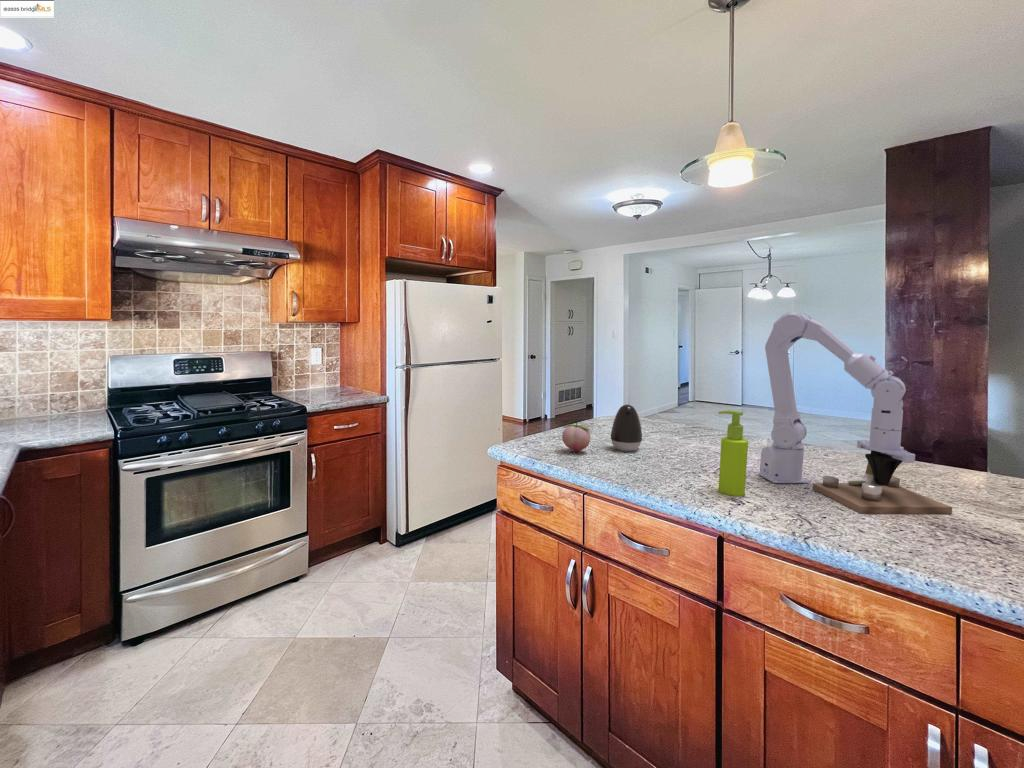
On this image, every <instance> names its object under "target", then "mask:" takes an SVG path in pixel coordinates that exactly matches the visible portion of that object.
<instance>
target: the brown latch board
mask: <svg viewBox="0 0 1024 768" xmlns="http://www.w3.org/2000/svg"><path fill="white" fill-rule="evenodd" d="M862 483H865V480H848V482H847V483H845V482H844V483H843V482H842V483H841V482H840V478H838V477H835V476H831V475H823V477H822V483H819V482H817V483H816V482H813V483H812V490H813V489H814V490H813V491H816V492H818V493H819V492H820V494H821V495H824V496H826V497H828V498H829V499H831V500H833V501H835V502H837V503H839V504H841V505H843V506H845V507H847V508H849V509H851V510H853V511H855V512H857V513H859V514H860V515H861V514H864V515H865V514H866V515H867V514H873V515H874V514H876V515H877V514H881V515H884V514H887V515H890V514H891V515H892V514H895V515H897V514H898V515H899V514H901V515H902V514H903V515H904V514H905V515H906V514H907V515H909V514H911V515H912V514H913V515H916V514H917V515H930V514H932V515H943V514H944V515H951V514H953V506H950V505H949V504H945V503H942V502H940V501H938V500H935V499H932V498H930V497H928V496H924V495H923V494H920V493H917V492H914V491H911V490H910V489H907V488H904V487H902V486H900V483H901V478H900V477H897V476H893V475H892V477H891V479H890V482H889V484H888V486H882V494H881V500H880V501H873V500H868V499H864V498H862V497H861V491H862Z"/></svg>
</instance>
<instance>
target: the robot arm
mask: <svg viewBox="0 0 1024 768" xmlns="http://www.w3.org/2000/svg"><path fill="white" fill-rule="evenodd" d="M801 339H807V340H810V341H816V342H817V343H819V344H820V345H821V346H822V347H824V348H825V349H826V350H828V351H829V352H831V353H832V354H833V355H834V356H835V357H837V358H838V359H839V360H841V361H842V362H843V363H844V368H843V369H844V371H845V372H846V373H847V374H848V375H850V376H851V377H852V378H853V379H854V380H856V381H857V383H858V384H860V385H861V386H862V387H864V388H865V389H869V390H870V394H871V396H872V397H873V404H872V408H871V416H870V417H871V420H870V428H869V429H870V431H869V432H870V433H869V440H866V439H858V440H857V444H856V448H857V449H862V450H866V451H870V453H865V455H864V456H865V459H866V460H867V463H868V462H869V464H870V466H871V469H872V472H873V476H874V481H875V484H878V485H881V486H888V484H889V482H890V479H891V477H892V476H893V475H894V472H895V471H896V470H897V469H898V468H899V466H900V465H901V464H902V463H906V464H909V463H911V464H915V462H916V454H915V453H911V452H909V451H907V450H906V449H904V448H905V447H904V446H901V443H902V429H903V419H904V418H903V417H904V410H903V407H904V401H903V397H904V395H905V394H906V391H907V390H906V389H907V388H906V385H905V383H904V382H903V380H902V379H901V377H897V376H895V375H894V372H893V371H892V370H889V371H888V370H887V369H886V368H885V367H883V366H882V365H881V364H879V363H878V362H877V361H876V360H877V357H876V356H874V355H873V354H870V355H868V354H867V353H865V352H864V353H863V352H860V353H859V352H855V351H854V350H853V349H851V347H849V346H848V345H847V344H846V343H844V341H843V340H841V339H840V338H839V337H838V336H837V335H835V334H834V332H832V331H831V330H830V329H829V328H827V326H825V325H824V324H822V323H821V322H819V321H818V320H816V319H812V317H811V316H810V315H808V314H806V313H804V312H803V313H802V312H800V313H799V312H796V311H790V312H786V313H783V314H782V315H781V316H780V317H779V318H778V319H777V320H776V321H775V322H774V323H773V326H772V329H771V332H770V334H769V336H768V338H767V341H766V343H765V345H764V349H765V350H764V351H765V357H766V362H767V370H768V375H769V381H770V382H769V383H770V388H771V394H772V395H771V396H772V401H773V409H774V415H773V419H772V422H773V428H772V430H771V433H770V436H771V439H772V445H769V446H765V447H763V448H762V450H761V452H760V461H759V462H760V465H759V472H758V473H757V474H758V476H761V477H762V478H765V479H766V480H768V481H770V482H771V483H773V484H810V480H807V479H805V478H803V477H802V476H803V467H804V465H803V464H804V455H805V454H804V452H805V451H804V450H805V446H804V444H803V442H802V441H803V440H805V438H806V437H807V428H806V426H805V424H804V423H803V422H802V419H801V414H800V413H799V411H798V409H797V403H796V397H795V390H794V383H793V378H792V372H791V366H790V357H789V352H788V351H789V349H790V348H792V346H793V345H794V344H795V343H796V342H797V341H799V340H801Z"/></svg>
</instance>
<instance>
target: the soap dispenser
mask: <svg viewBox="0 0 1024 768" xmlns="http://www.w3.org/2000/svg"><path fill="white" fill-rule="evenodd" d="M717 412H718V414H719V415H723V414H725V415H731V423H729V424H727V430H726V431H727V433H726V434H727V435H726V436H723V437H722V438H721V441H720V454H719V455H720V456H719V457H720V459H719V473H718V475H719V476H718V492H719V493H721V494H723V495H727V496H733V497H742V496H744V495H746V481H747V464H748V452H749V451H748V449H749V440H748V439H745V438H744V437H743V436H744V425H742V424H741V416H743V415H744V412H743V411H737V410H732V409H729V410H728V409H726V410H719V411H717Z"/></svg>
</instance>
